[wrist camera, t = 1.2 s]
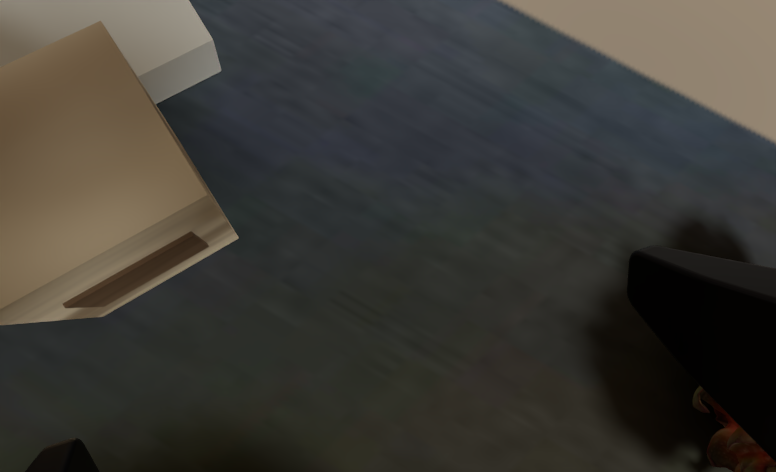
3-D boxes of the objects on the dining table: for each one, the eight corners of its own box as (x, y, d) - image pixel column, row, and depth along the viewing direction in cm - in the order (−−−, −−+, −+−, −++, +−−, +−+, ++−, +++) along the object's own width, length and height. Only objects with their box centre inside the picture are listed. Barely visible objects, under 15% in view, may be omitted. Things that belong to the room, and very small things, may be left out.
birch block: (240, 241, 24) (211, 200, 14) (105, 319, 23) (-31, 334, 13) (175, 135, 24) (101, 20, 14) (36, 207, 23) (-151, 136, 13)
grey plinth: (221, 70, 25) (212, 39, 22) (-61, 213, 22) (-113, 200, 19) (147, -50, 25) (128, -98, 22) (-143, 79, 22) (-209, 45, 19)
